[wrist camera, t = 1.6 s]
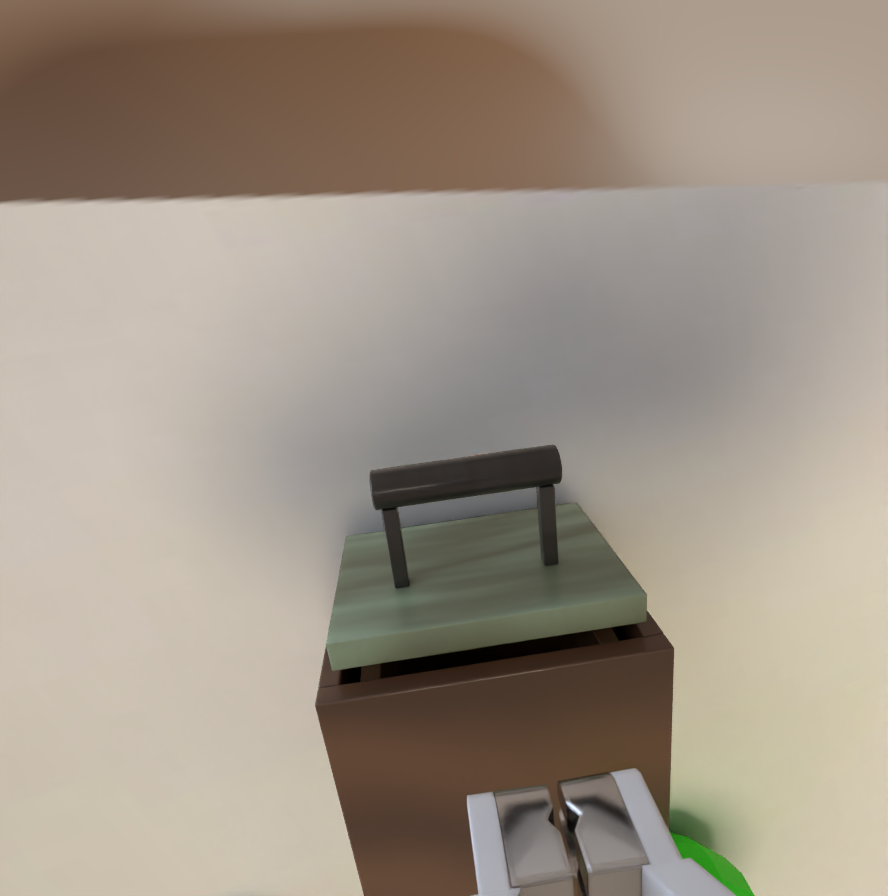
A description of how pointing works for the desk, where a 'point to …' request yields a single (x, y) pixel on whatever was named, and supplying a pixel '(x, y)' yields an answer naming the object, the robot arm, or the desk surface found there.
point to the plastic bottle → (713, 864)
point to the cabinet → (486, 747)
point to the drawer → (476, 573)
